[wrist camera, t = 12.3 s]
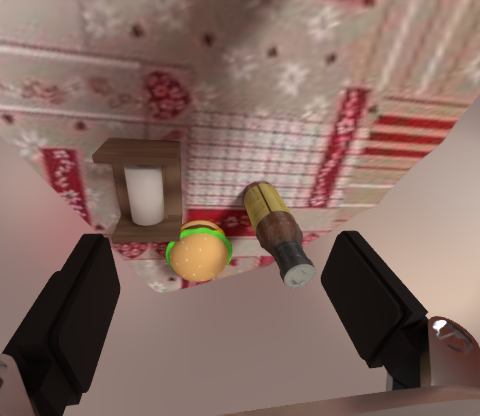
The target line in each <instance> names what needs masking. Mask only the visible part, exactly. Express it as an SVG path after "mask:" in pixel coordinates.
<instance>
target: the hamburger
mask: <svg viewBox="0 0 480 416" xmlns="http://www.w3.org/2000/svg"><path fill="white" fill-rule="evenodd" d="M231 256H232V246H231V243H230V242H229V240H228V239H226V236H225V233H224V231H223V230H222V229H221V228H219V227H218V226H217V225H216V224H214V223H212V222H209V221H205V220H195V221H191V222H188V223H186V224H184V225H182V226H181V235H180V242H169V244H168V246H167V248H166V260H167V262H168V263H169V264H170V266H171V267H172V269H173V270H174V271H175V272H176V273H177V274H178V275H179V276H180V277H182V278H184V279H186V280H189V281H195V282H201V281H207V280H210V279H212V278H215V277H216V276H218V275H219V274H220V273H221V272H222V271H223V269H224V268H225V266H226V265H227V264H229V262H230V259H231Z"/></svg>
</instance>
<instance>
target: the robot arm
mask: <svg viewBox="0 0 480 416" xmlns="http://www.w3.org/2000/svg"><path fill="white" fill-rule="evenodd" d="M321 283H322V285H323V287H324V289H325V291H326V293H327V295H328V297H329V299H330V300H331V302H332V304H333V306H334V308H335V310H336V312H337V314H338V316H339V318H340V320H341V321H342V323H343V325H344V327H345V329H346V331H347V332H348V334H349V336H350V338H351V340H352V342H353V344H354V346H355V348H356V350H357V352H358V354H359V355H360V357H361V358H362V359H363V360H365V361H366V363H367V365H368V367H369V368H377V367H382V366H383V365H384V367H385V368H386V370H387V381H386V392H379V393H372V394H364V395H357V396H350V397H343V398H335V399H328V400H321V401H315V402H307V403H300V404H293V405H286V406H279V407H272V408H265V409H258V410H252V411H244V412H237V413H230V414H224V415H218V416H480V347H479V345H478V343H477V342H476V340H475V339H474V337H473V336H472V335H471V334H470V333H469V332H468V331H467V330H466V329H464V328H463V327H462V326H460V325H459V324H457V323H456V322H454V321H452V320H450V319H447V318H444V317H439V316H435V317H431V318H430V319H429V320H428V319H427V317H426V316H425V315H426V314H427V313H428V311H427V310H426V309H425V308H424V307H423V305H422V304H421V303H420V302H419V301H418V300H417V299H416V298H415V296H414V295H413V294H412V293H411V292H410V291H409V290H408V288H407V287H406V286H405V285H404V284H403V283H402V281H401V280H400V279H399V278H398V277H397V276H396V275H395V273H394V272H393V271H392V270H391V269H390V268H389V267H388V266H387V264H386V263H385V262H384V261H383V260H382V259H381V257H380V256H379V255H378V254H377V253H376V252H375V251H374V250H373V248H372V247H371V246H370V245H369V244H368V243H367V241H366V240H365V239H364V238H363V237H362V236H361V235H360V233H359V232H357V231H342V232H341V233H340V234H339V235H337V237H336V240H335V242H334V245H333V248H332V250H331V252H330V255H329V258H328V260H327V262H326V265H325V267H324V270H323V272H322V275H321ZM119 294H120V283H119V279H118V275H117V271H116V267H115V262H114V258H113V254H112V250H111V246H110V242H109V239H108V238H107V237H104V236H103V235H102V234H83V235H82V237H81V238H80V240H79V241H78V243H77V245H76V246H75V248H74V250H73V251H72V253H71V254H70V256H69V258H68V259H67V261H66V263H65V264H64V266H63V268H62V269H61V271H57V272H55V273H54V274H53V275H52V276H51V277H50V279H49V281H48V282H47V284H46V285H45V287H44V288H43V290H42V292H41V293H40V295H39V296H38V298H37V299H36V301H35V303H34V304H33V306H32V307H31V309H30V310H29V312H28V313H27V315H26V317H25V318H24V319H23V321H22V323H21V324H20V326H19V327H18V329H17V330H16V332H15V334H14V335H13V337H12V338H11V340H10V341H9V343H8V344H7V346H6V347H5V349H4V351H3V352H2V354H0V416H63V413H64V410H65V408H66V406H69V405H76V404H79V402H80V399H81V396H82V393H86V392H87V391H88V390H89V388H90V385H91V382H92V379H93V376H94V373H95V370H96V367H97V364H98V361H99V357H100V354H101V351H102V348H103V345H104V342H105V339H106V335H107V332H108V329H109V326H110V323H111V320H112V317H113V313H114V310H115V307H116V304H117V301H118V298H119Z"/></svg>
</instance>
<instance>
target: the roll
mask: <svg viewBox="0 0 480 416" xmlns="http://www.w3.org/2000/svg"><path fill="white" fill-rule="evenodd" d="M124 171H125V177H126V184H127V190H128V196H129V202H130V209H131V215H132V220H133V222H134V223H136V224H138V225H143V226H149V225H154V224H157V223H159V222H161V221H162V220H163V219H164V218H165V210H164V197H163V183H162V169H161V165H135V164H124Z"/></svg>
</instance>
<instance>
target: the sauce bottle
mask: <svg viewBox="0 0 480 416" xmlns="http://www.w3.org/2000/svg"><path fill="white" fill-rule="evenodd" d="M243 200H244V205H245V208H246V211H247V213H248V216H249V218H250V221H251V224H252V226H253V229H254V232H255V234H256V237H257V239H258V240H259V242H260V244H261V247H262V248H264V249H265V250H266V251H267V252H269V253H270V254H271V255H272V256H273V257H274V259H275V261H276V262H277V264H278V266H279V269H280V275H281V278H282V280H283V282H284V283H285V285H286V286H288V287H292V288H299V287H303V286H306V285H307V284H308V283H310V282H311V281H312V280H313V279H314V277H315V275H316V269H315V267H314V265H313V263H312V262H311V260H310V259H308V258H307V257H306V255H305V253H304V251H303V248H302V246H301V245H302V238H303V234H302V232H301V230H300V228H299V226H298V224H297V223H296V221H295V219H294V217H293V215H292V214H291V212H290V211H289V209H288V208H287V206H286V205H285V203H284V202H283V200H282V198H281V197H280V195H279V194H278V192H277V190H276V189H275V188H274V187H273V186H272V185H270V184H269V183H268V182H264V181H259V182H254V183H252V184H250V185H249V186H248V187H247V188H246V190H245V192H244V197H243Z"/></svg>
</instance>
